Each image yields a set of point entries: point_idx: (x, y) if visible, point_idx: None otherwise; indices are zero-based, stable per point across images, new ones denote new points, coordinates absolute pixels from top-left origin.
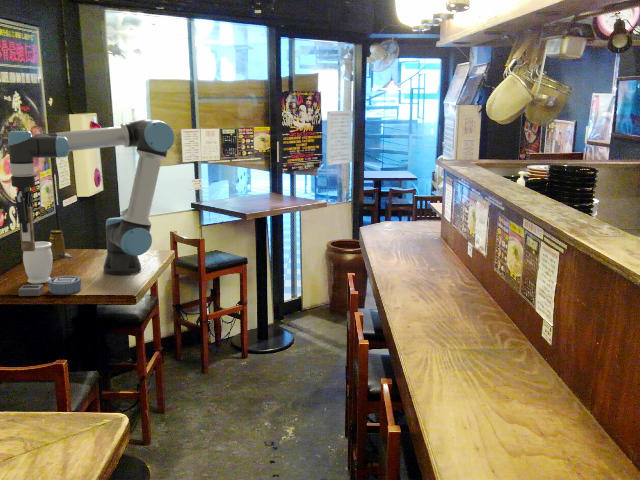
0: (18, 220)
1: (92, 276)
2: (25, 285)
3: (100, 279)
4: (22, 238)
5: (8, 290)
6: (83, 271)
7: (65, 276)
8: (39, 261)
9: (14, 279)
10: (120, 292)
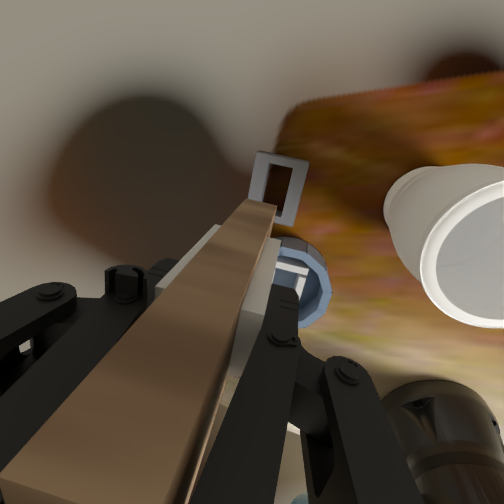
0: (20, 294)
1: (405, 349)
2: (298, 171)
3: (362, 362)
4: (208, 232)
5: (338, 106)
6: (483, 334)
7: (323, 295)
8: (396, 239)
9: (497, 109)
10: (230, 380)
